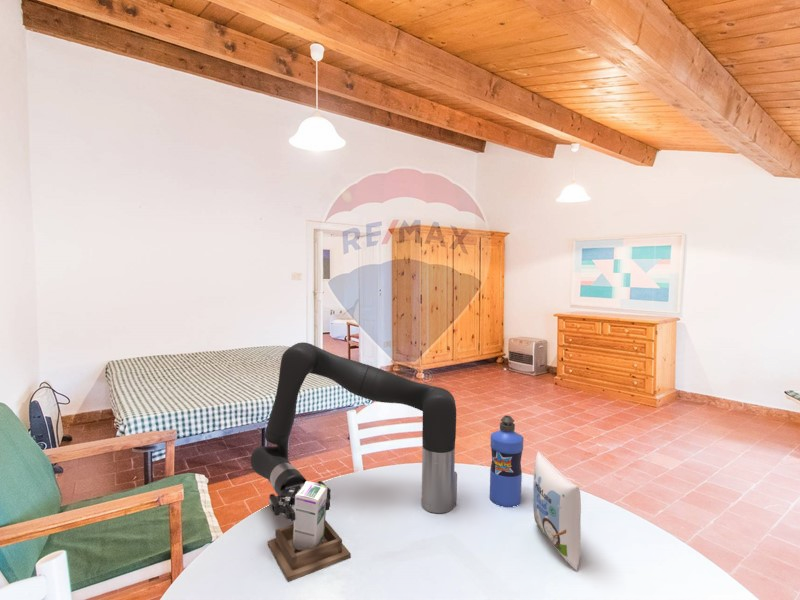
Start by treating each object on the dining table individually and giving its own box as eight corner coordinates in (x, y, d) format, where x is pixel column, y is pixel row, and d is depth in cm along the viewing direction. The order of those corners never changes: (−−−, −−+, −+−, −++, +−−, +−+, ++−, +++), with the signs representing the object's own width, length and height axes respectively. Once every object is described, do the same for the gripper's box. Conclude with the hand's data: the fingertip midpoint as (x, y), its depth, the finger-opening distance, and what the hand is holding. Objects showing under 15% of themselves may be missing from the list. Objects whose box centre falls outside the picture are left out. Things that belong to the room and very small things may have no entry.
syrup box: (314, 555, 102) (319, 500, 99) (291, 548, 103) (295, 494, 100) (324, 537, 107) (328, 485, 104) (301, 531, 108) (305, 479, 105)
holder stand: (324, 525, 115) (324, 511, 115) (350, 557, 103) (350, 541, 103) (267, 544, 107) (267, 528, 107) (288, 581, 95) (287, 563, 94)
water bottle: (515, 511, 124) (518, 424, 122) (484, 501, 128) (486, 417, 127) (525, 497, 131) (528, 415, 130) (495, 488, 136) (497, 409, 135)
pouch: (553, 522, 118) (555, 450, 117) (589, 571, 99) (593, 485, 98) (524, 524, 117) (526, 451, 116) (555, 573, 98) (559, 486, 97)
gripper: (260, 475, 112) (281, 504, 99) (313, 462, 120) (339, 488, 106) (261, 503, 113) (281, 536, 99) (313, 488, 120) (339, 518, 107)
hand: (311, 511), depth 103 cm, fingers closed on syrup box, 8 cm apart
